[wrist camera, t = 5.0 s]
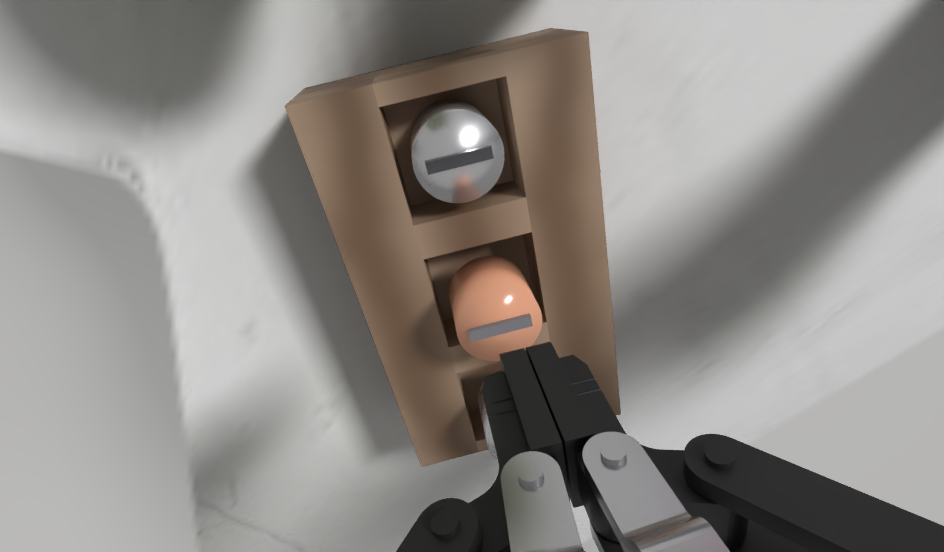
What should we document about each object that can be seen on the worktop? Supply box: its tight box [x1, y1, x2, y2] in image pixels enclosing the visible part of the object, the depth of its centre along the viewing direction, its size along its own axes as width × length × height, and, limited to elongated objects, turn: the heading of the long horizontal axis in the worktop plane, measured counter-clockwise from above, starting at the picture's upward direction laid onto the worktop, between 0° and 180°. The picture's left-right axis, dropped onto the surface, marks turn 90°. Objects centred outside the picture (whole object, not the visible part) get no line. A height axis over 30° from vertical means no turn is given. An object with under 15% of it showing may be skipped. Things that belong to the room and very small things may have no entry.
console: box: [285, 28, 621, 467], centre depth 31 cm, size 14×24×6 cm, turn 12°
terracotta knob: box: [449, 256, 542, 361], centre depth 27 cm, size 4×4×4 cm
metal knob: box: [410, 99, 504, 203], centre depth 25 cm, size 4×4×4 cm
